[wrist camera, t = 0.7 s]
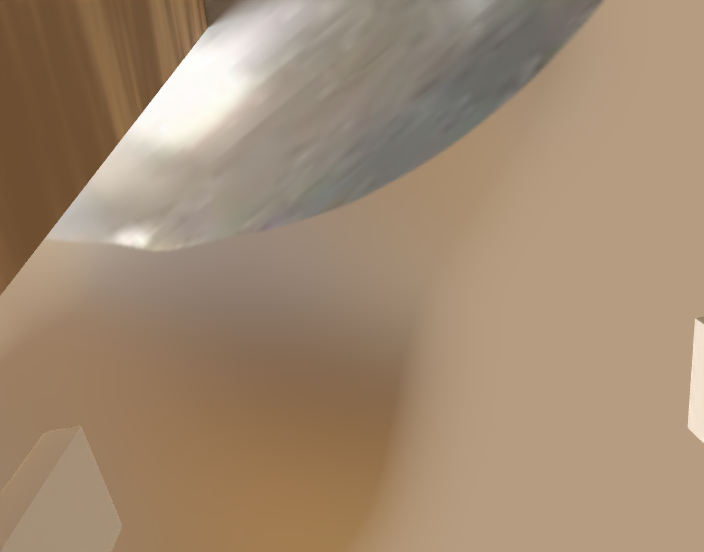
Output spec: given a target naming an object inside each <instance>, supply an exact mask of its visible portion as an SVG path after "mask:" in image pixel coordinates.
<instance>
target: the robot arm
mask: <svg viewBox="0 0 704 552" xmlns="http://www.w3.org/2000/svg"><path fill="white" fill-rule="evenodd" d="M688 428H689V429H690V430H691V431H692V432H693V433H694V434H695V435H696V436H697V437H698V438H699V439H700V440H701V441H702V442H703V443H704V317H700V318H695V331H694V345H693V359H692V374H691V389H690V403H689V417H688ZM121 528H122V524H121V522H120V520H119V517H118V514H117V512H116V510H115V507H114V505H113V502H112V500H111V498H110V495H109V493H108V490H107V488H106V485H105V483H104V481H103V478H102V476H101V473H100V471H99V468H98V466H97V464H96V461H95V459H94V456H93V454H92V451H91V449H90V447H89V444H88V442H87V439H86V437H85V434H84V432H83V430H82V427H81V426H77V427H71V428H65V429H60V430H54V431H48V432H44V434H43V435H42V437H41V438H40V439H39V440H38V442H37V443H36V445H35V446H34V448H33V449H32V450H31V451H30V453H29V454H28V456H27V457H26V458H25V460H24V461H23V462H22V464H21V465H20V467H19V468H18V469H17V471H16V472H15V473H14V475H13V476H12V478H11V479H10V481H9V482H8V483H7V485H6V486H5V487H4V489H3V490H2V491H1V493H0V552H112V550H113V547H114V545H115V543H116V540H117V538H118V535H119V533H120V531H121Z"/></svg>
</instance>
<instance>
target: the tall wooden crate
mask: <svg viewBox="0 0 704 552" xmlns="http://www.w3.org/2000/svg"><path fill="white" fill-rule="evenodd" d="M207 28H208V27H207V20H206V13H205V6H204V0H0V295H1V294H2V293H3V291H4V290H5V289H6V287H7V286H8V285H9V284H10V282H11V281H12V280H13V278H14V277H15V276H16V274H17V273H18V272H19V271H20V269H21V268H22V267H23V265H24V264H25V262H27V260H28V259H29V258H30V256H31V255H32V254H33V253H34V251H35V250H36V249H37V247H38V246H39V245H40V244H41V242H42V241H43V240H44V238H45V237H46V236H47V235H48V233H49V232H50V231H51V229H52V228H53V227H54V226H55V224H56V223H57V222H58V220H59V219H60V218H61V216H62V215H63V214H64V213H65V211H66V210H67V209H68V207H69V206H70V205H71V204H72V202H73V201H74V200H75V198H76V197H77V196H78V195H79V193H80V192H81V191H82V189H83V188H84V187H85V186H86V184H87V183H88V182H89V180H90V179H91V178H92V176H93V175H94V174H95V173H96V171H97V170H98V169H99V167H100V166H101V165H102V164H103V162H104V161H105V160H106V158H107V157H108V156H109V155H110V153H111V152H112V151H113V149H114V148H115V147H116V146H117V144H118V143H119V142H120V140H121V139H122V138H123V136H124V135H125V134H126V133H127V131H128V130H129V129H130V127H131V126H132V125H133V124H134V122H135V121H136V120H137V118H138V117H139V116H140V115H141V113H142V112H143V111H144V109H145V108H146V107H147V106H148V104H149V103H150V102H151V100H152V99H153V98H154V97H155V95H156V94H157V93H158V91H159V90H160V89H161V87H162V86H163V85H164V84H165V82H166V81H167V80H168V78H169V77H170V76H171V75H172V73H173V72H174V71H175V69H176V68H177V67H178V66H179V64H180V63H181V62H182V60H183V59H184V58H185V57H186V55H187V54H188V53H189V51H190V50H191V49H192V47H193V46H194V45H195V44H196V42H197V41H198V40H199V38H200V37H201V36H202V35H203V33H204V32H205V31H206V29H207Z"/></svg>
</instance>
